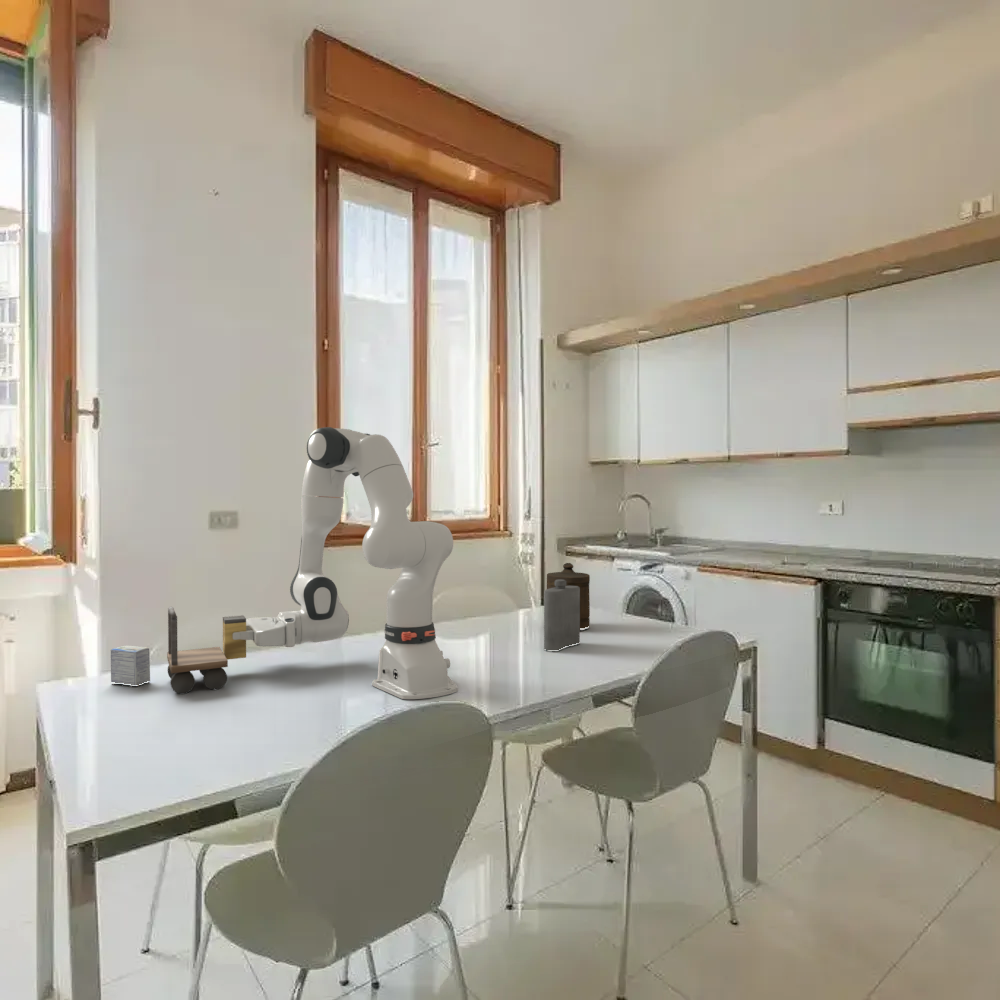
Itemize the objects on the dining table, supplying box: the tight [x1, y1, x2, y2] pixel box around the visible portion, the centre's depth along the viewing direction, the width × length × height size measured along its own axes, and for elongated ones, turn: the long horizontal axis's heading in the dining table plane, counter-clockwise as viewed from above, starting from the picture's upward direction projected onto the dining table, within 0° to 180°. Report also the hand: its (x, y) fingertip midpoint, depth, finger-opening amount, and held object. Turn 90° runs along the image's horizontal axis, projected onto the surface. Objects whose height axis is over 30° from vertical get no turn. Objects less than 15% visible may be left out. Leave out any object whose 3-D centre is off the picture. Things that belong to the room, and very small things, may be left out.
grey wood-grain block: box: [110, 645, 151, 685], centre depth 167 cm, size 8×4×9 cm, turn 71°
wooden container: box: [546, 562, 591, 628], centre depth 235 cm, size 15×15×22 cm
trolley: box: [166, 606, 229, 694], centre depth 166 cm, size 16×12×18 cm
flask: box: [543, 579, 581, 650], centre depth 206 cm, size 15×6×20 cm, turn 141°
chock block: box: [222, 614, 247, 660], centre depth 176 cm, size 4×5×10 cm
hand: (230, 633), depth 176 cm, fingers closed on chock block, 4 cm apart
